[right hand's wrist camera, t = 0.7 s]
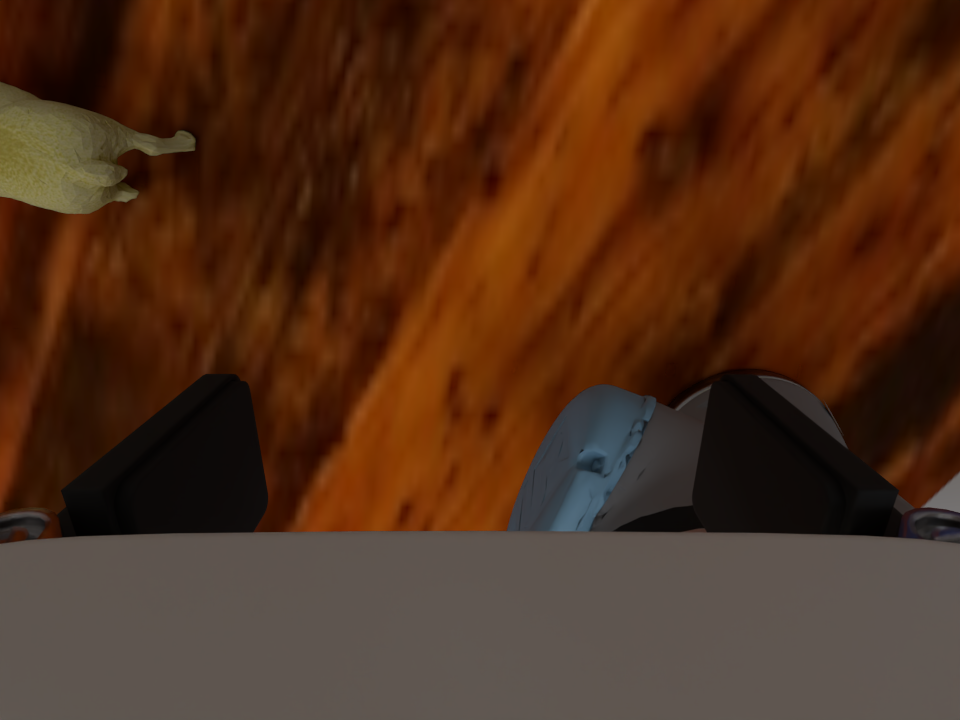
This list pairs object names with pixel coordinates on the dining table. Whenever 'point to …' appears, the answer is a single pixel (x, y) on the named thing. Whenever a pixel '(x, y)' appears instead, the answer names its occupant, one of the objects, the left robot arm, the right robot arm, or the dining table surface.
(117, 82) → the dining table surface
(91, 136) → the toy
